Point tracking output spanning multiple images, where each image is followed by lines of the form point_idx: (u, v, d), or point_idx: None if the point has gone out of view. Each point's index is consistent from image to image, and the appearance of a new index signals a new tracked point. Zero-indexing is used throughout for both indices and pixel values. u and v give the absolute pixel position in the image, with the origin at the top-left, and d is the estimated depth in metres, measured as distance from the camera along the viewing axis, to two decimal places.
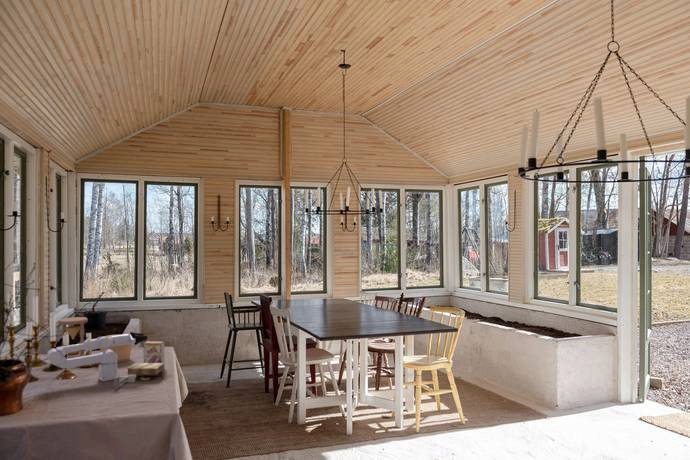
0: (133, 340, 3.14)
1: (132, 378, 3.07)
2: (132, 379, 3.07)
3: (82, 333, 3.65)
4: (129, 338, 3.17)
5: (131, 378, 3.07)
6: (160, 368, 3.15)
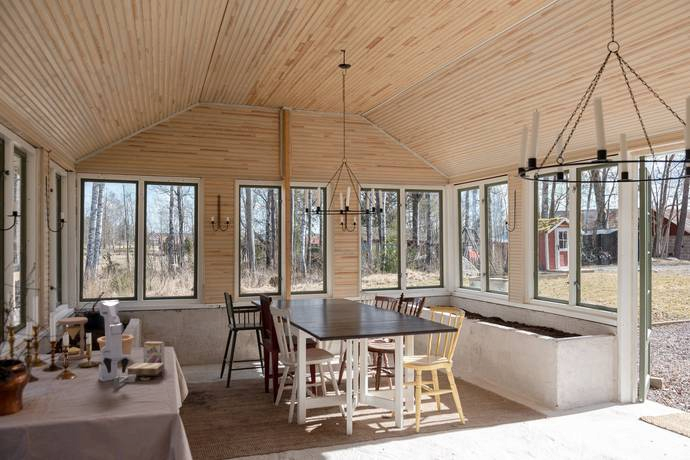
0: None
1: (132, 378, 3.07)
2: (132, 379, 3.07)
3: (82, 333, 3.65)
4: (110, 355, 2.94)
5: (131, 378, 3.07)
6: (160, 368, 3.15)
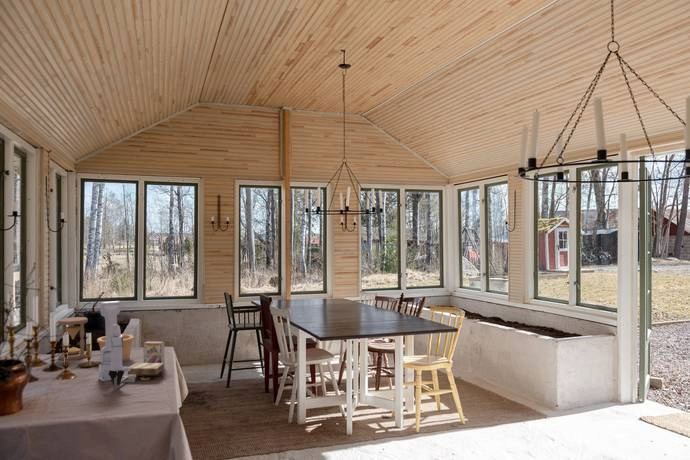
0: None
1: (132, 378, 3.07)
2: (132, 379, 3.07)
3: (82, 333, 3.65)
4: (110, 367, 2.94)
5: (131, 378, 3.07)
6: (160, 368, 3.15)
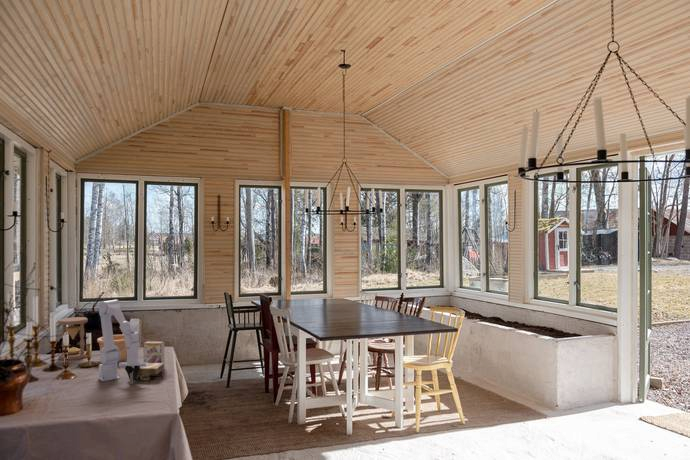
0: None
1: None
2: None
3: (82, 333, 3.65)
4: (127, 362, 3.03)
5: None
6: (160, 368, 3.15)
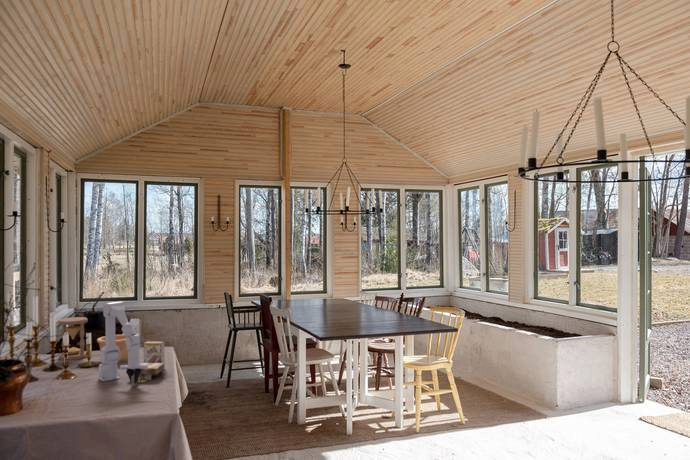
0: None
1: (148, 376, 3.11)
2: (148, 377, 3.11)
3: (82, 333, 3.65)
4: (128, 365, 2.98)
5: (147, 376, 3.11)
6: (160, 368, 3.15)
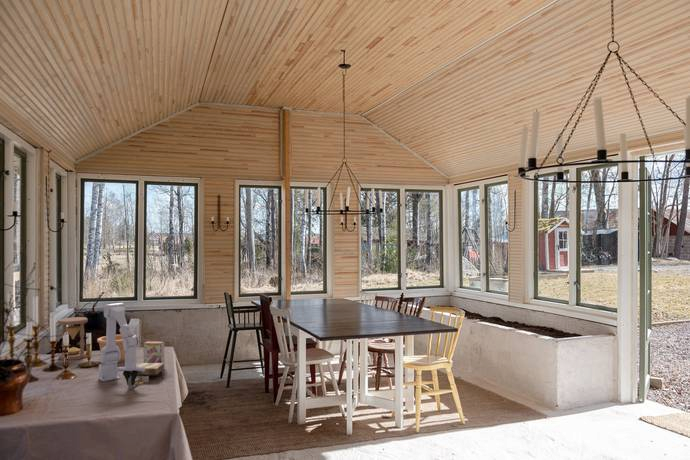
0: None
1: (146, 378, 3.07)
2: (146, 379, 3.07)
3: (82, 333, 3.65)
4: (124, 367, 2.94)
5: (145, 378, 3.07)
6: (160, 368, 3.15)
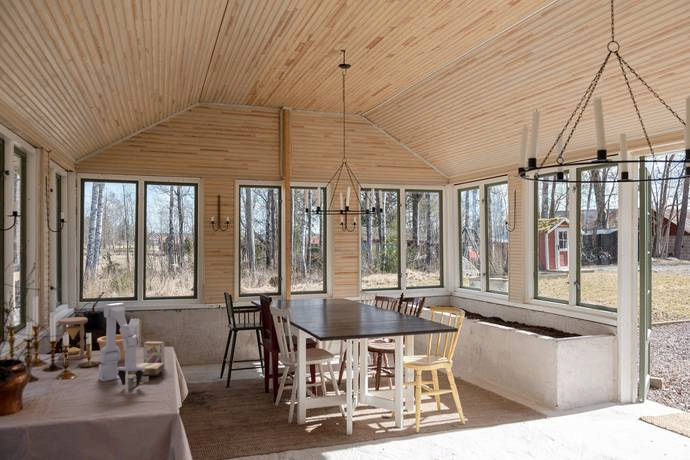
0: None
1: (146, 378, 3.07)
2: (146, 379, 3.07)
3: (82, 333, 3.65)
4: (124, 367, 2.94)
5: (145, 378, 3.07)
6: (160, 368, 3.15)
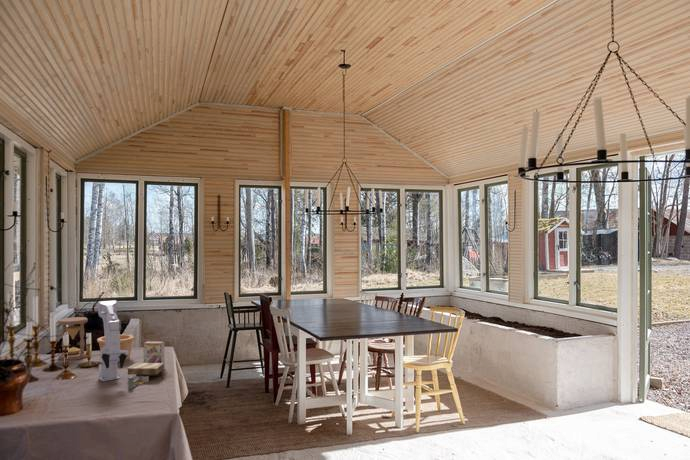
0: None
1: (146, 378, 3.07)
2: (146, 379, 3.07)
3: (82, 333, 3.65)
4: (108, 350, 3.00)
5: (145, 378, 3.07)
6: (160, 368, 3.15)
